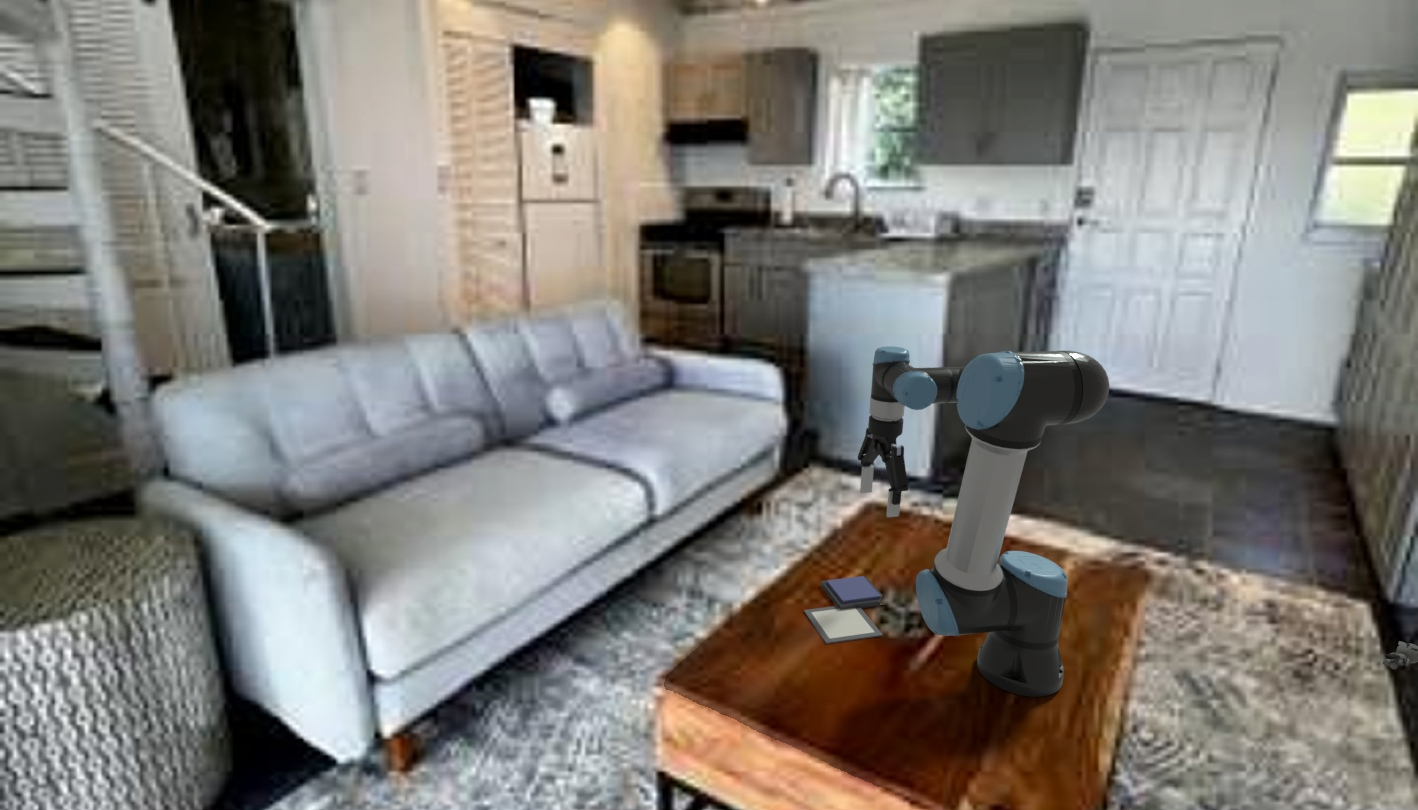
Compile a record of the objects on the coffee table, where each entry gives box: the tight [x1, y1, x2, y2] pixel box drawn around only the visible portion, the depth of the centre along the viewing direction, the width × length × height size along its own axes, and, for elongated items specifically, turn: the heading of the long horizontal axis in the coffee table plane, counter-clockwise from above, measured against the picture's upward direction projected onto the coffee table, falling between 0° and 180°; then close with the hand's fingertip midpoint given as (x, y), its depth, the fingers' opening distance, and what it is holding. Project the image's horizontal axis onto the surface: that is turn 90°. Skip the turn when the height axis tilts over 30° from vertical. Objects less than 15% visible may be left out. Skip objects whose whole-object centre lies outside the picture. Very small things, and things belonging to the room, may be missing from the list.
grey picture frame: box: [803, 605, 884, 645], centre depth 159 cm, size 12×12×1 cm
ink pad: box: [820, 575, 884, 610], centre depth 170 cm, size 11×11×2 cm
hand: (878, 503), depth 175 cm, fingers open, 13 cm apart
